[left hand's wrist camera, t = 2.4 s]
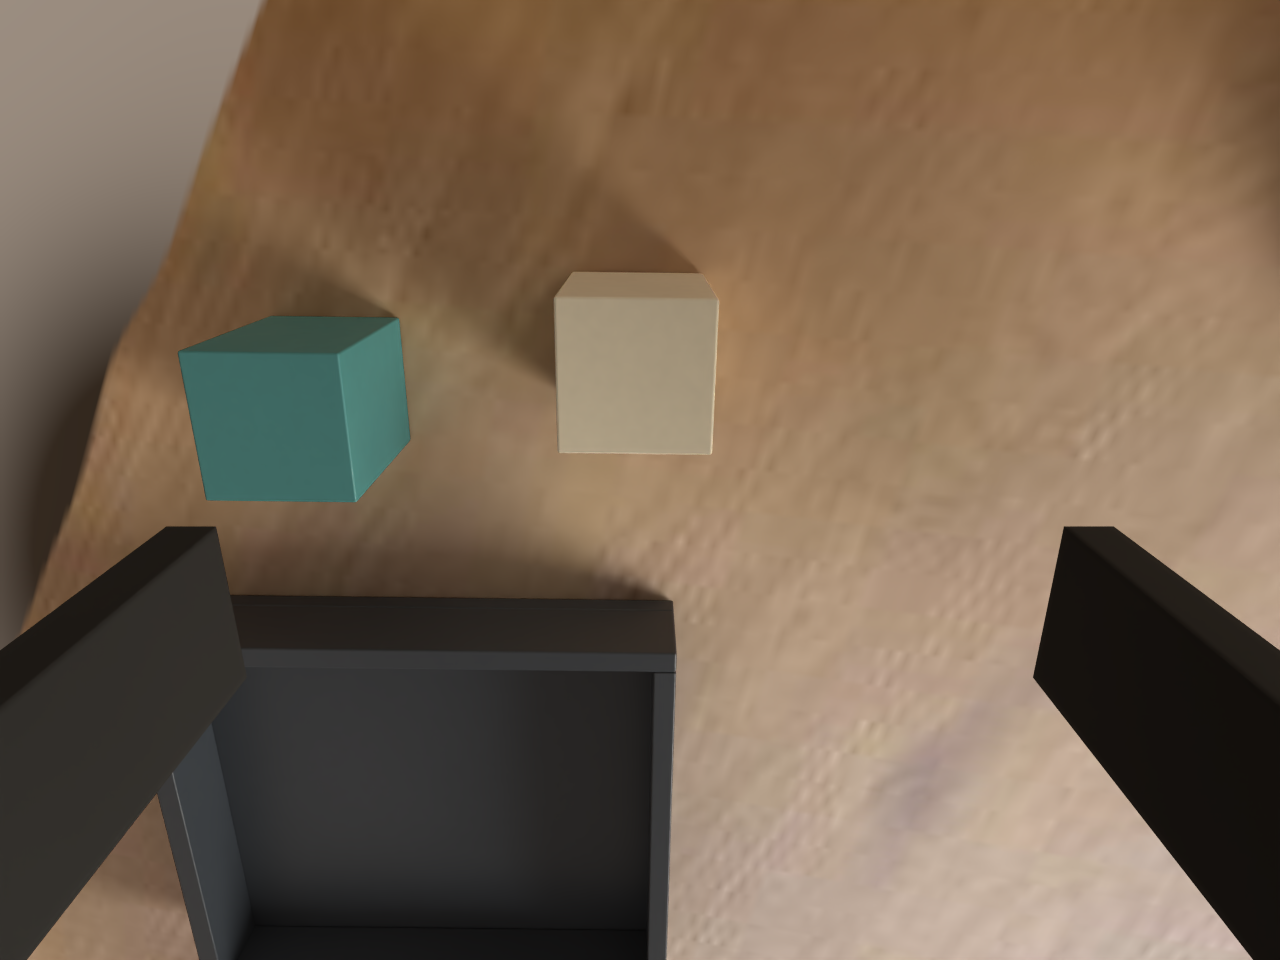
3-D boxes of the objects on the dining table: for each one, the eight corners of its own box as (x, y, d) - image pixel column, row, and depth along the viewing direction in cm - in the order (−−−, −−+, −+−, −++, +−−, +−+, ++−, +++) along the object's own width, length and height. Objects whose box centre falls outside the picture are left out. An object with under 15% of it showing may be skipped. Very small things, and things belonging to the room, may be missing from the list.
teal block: (269, 315, 28) (176, 351, 22) (399, 317, 28) (338, 353, 22) (288, 439, 30) (205, 501, 24) (411, 440, 30) (357, 503, 24)
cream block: (571, 271, 27) (553, 296, 22) (703, 272, 27) (719, 298, 22) (573, 399, 29) (557, 453, 23) (698, 401, 29) (712, 455, 23)
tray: (177, 594, 32) (22, 734, 24) (672, 599, 32) (683, 741, 24) (274, 1038, 41) (185, 1246, 33) (659, 1042, 41) (663, 1251, 33)
